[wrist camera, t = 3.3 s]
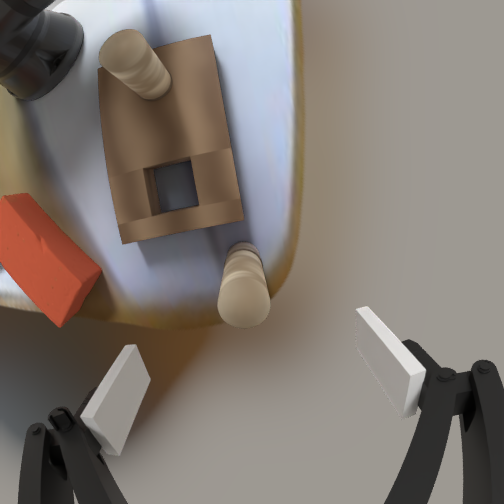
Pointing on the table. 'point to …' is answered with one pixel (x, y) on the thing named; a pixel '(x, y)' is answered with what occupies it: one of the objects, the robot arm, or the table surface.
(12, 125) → the table surface
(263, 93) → the table surface
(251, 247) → the beech leg
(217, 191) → the walnut board
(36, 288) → the brick
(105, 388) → the robot arm
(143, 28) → the table surface
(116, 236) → the table surface
